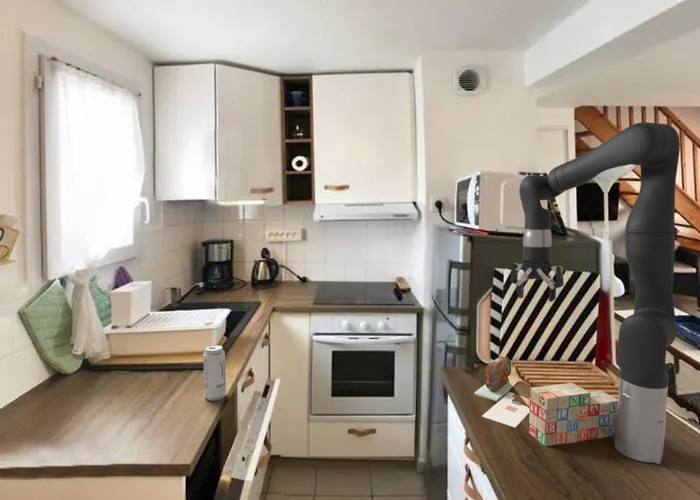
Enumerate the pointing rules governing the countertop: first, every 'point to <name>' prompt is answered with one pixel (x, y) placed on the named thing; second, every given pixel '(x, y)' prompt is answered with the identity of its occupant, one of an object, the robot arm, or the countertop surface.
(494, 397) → the pad
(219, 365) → the energy drink can
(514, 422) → the tile
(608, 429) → the stack of blocks
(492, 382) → the tin
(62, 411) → the countertop surface
